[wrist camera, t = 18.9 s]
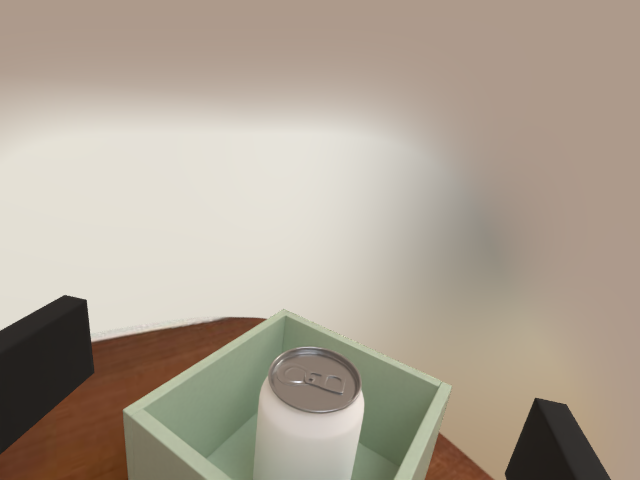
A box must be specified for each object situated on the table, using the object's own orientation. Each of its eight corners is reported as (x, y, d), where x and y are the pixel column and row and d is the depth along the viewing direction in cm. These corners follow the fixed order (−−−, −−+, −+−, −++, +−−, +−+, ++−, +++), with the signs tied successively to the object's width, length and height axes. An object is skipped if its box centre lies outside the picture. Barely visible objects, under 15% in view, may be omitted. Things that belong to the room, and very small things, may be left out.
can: (267, 461, 30) (279, 333, 26) (346, 482, 29) (372, 353, 25) (234, 548, 24) (243, 401, 20) (334, 579, 23) (365, 431, 19)
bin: (424, 479, 31) (452, 385, 27) (326, 723, 18) (357, 603, 15) (275, 390, 38) (283, 308, 35) (130, 520, 25) (121, 409, 22)
